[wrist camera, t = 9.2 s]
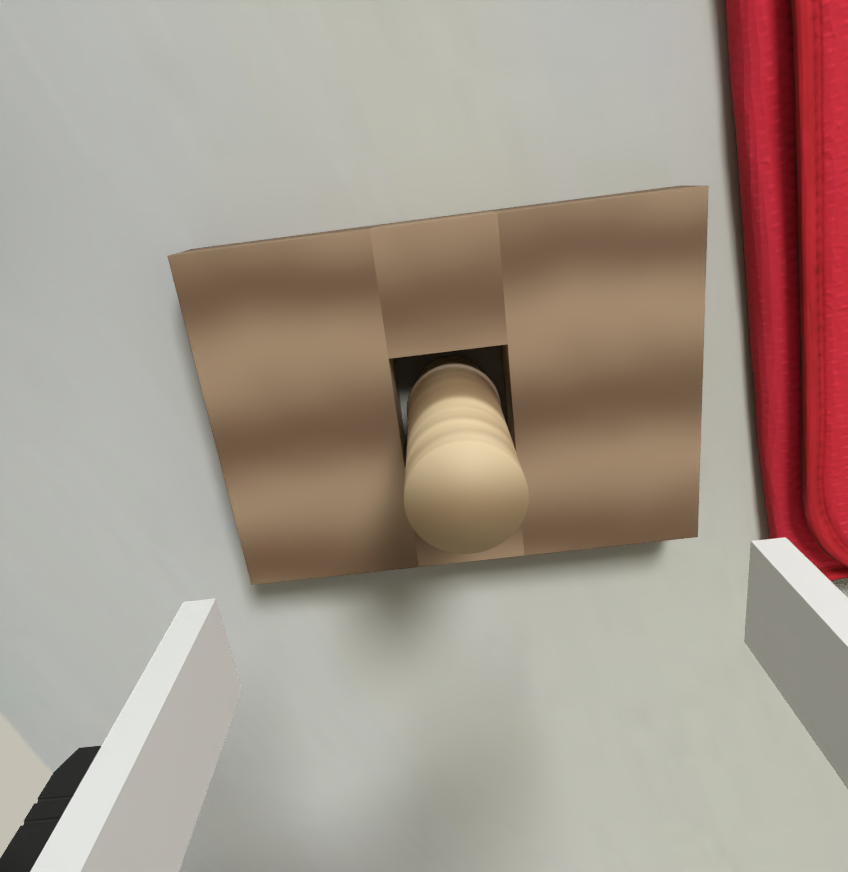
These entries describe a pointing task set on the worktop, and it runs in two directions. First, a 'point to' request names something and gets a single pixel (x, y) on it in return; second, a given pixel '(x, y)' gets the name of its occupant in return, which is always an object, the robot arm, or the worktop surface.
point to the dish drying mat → (796, 259)
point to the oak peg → (461, 461)
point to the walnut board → (449, 331)
